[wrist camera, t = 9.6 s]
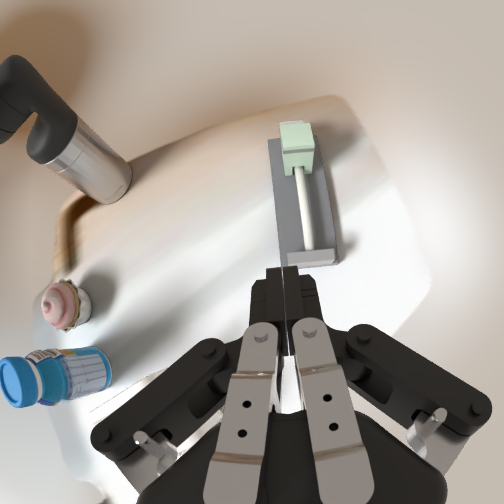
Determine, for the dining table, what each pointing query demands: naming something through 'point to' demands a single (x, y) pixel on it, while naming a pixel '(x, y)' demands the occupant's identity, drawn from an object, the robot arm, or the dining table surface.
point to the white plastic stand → (128, 393)
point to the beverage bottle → (54, 376)
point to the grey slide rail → (302, 211)
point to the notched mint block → (297, 147)
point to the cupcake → (66, 305)
